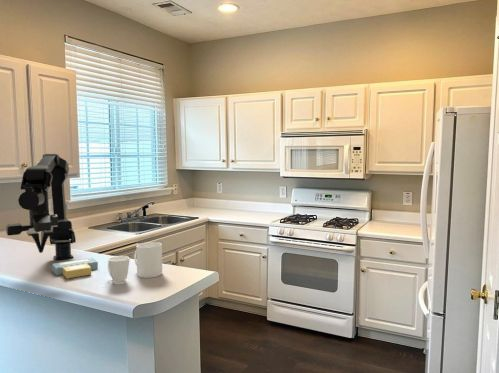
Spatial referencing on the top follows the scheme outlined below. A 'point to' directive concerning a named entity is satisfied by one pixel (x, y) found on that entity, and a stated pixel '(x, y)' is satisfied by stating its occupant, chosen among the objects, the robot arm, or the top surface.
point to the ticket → (58, 267)
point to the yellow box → (76, 270)
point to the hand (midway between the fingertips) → (40, 252)
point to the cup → (118, 268)
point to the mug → (149, 259)
